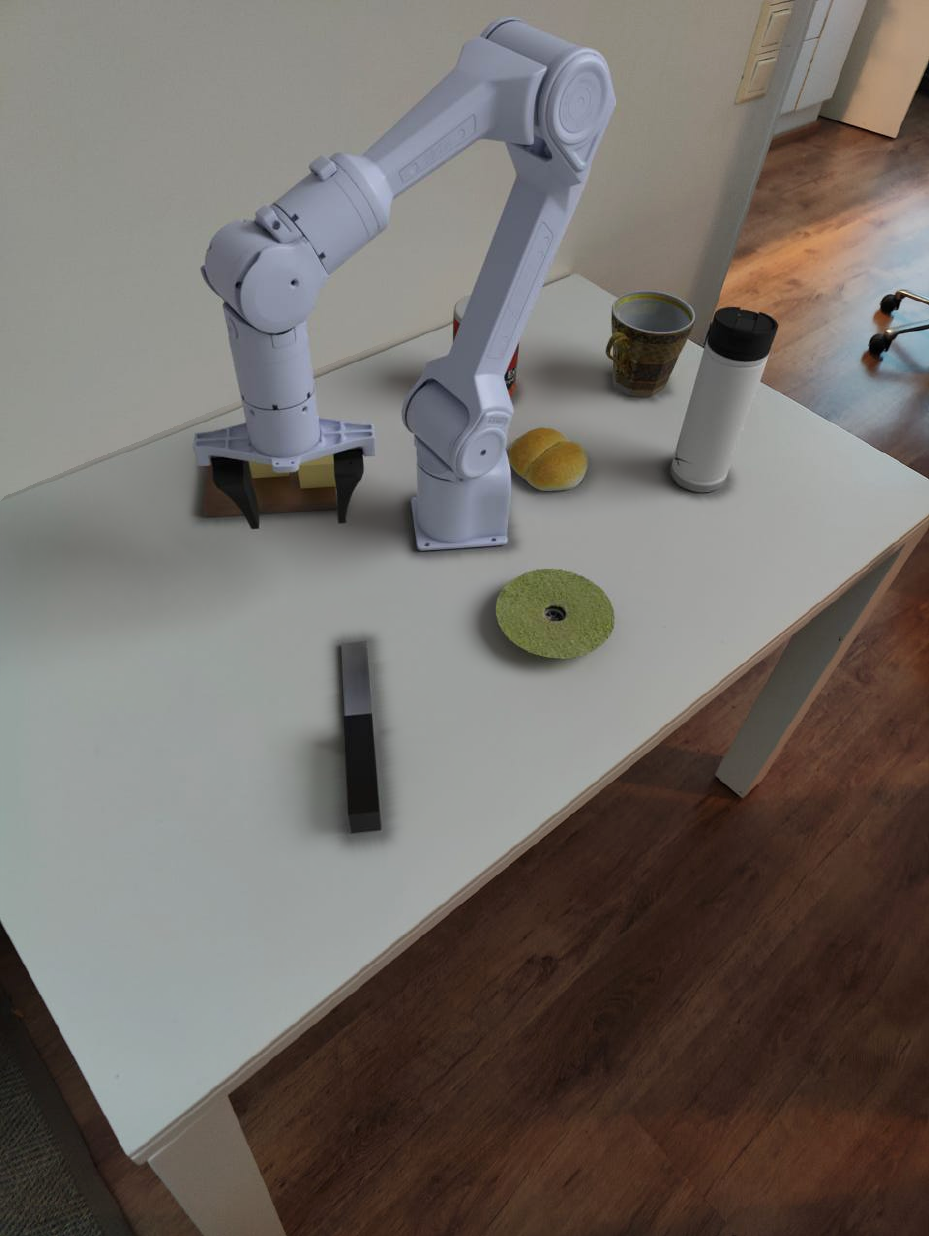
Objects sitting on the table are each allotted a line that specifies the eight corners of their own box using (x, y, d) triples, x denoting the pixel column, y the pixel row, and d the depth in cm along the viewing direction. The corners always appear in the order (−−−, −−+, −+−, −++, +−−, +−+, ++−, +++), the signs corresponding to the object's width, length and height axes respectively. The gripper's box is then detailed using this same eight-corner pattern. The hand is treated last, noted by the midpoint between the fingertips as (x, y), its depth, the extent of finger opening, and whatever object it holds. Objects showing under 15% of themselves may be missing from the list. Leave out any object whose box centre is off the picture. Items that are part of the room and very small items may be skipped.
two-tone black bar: (381, 830, 65) (379, 811, 62) (351, 833, 64) (347, 814, 62) (367, 643, 77) (365, 621, 74) (341, 645, 77) (338, 623, 74)
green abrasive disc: (470, 628, 78) (471, 614, 77) (540, 565, 84) (542, 551, 83) (566, 691, 74) (569, 678, 72) (633, 620, 80) (637, 607, 78)
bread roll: (551, 504, 90) (555, 476, 87) (496, 464, 94) (498, 435, 91) (602, 474, 94) (608, 446, 91) (547, 436, 98) (551, 408, 95)
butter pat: (337, 473, 91) (334, 450, 88) (337, 486, 89) (335, 463, 87) (300, 475, 90) (296, 452, 88) (300, 489, 89) (297, 465, 86)
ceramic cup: (632, 353, 111) (647, 282, 103) (692, 386, 106) (712, 314, 98) (567, 389, 105) (578, 316, 97) (627, 425, 100) (643, 352, 92)
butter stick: (289, 431, 95) (285, 408, 93) (289, 476, 90) (285, 453, 88) (254, 433, 95) (249, 410, 92) (252, 478, 90) (247, 455, 87)
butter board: (333, 435, 97) (332, 427, 96) (337, 509, 89) (336, 500, 88) (212, 442, 95) (210, 433, 95) (204, 517, 87) (202, 509, 86)
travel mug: (663, 486, 93) (708, 323, 78) (676, 452, 97) (721, 291, 82) (718, 501, 91) (775, 338, 76) (729, 466, 95) (785, 305, 80)
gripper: (176, 425, 60) (213, 555, 70) (374, 414, 62) (382, 543, 72) (184, 370, 65) (218, 501, 75) (369, 362, 66) (377, 491, 77)
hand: (298, 518), depth 74 cm, fingers open, 7 cm apart
